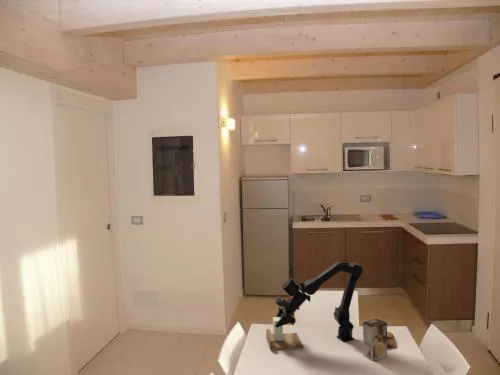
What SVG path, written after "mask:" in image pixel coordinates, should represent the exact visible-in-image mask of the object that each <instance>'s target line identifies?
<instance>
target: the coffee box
mask: <svg viewBox="0 0 500 375" xmlns="http://www.w3.org/2000/svg"><path fill="white" fill-rule="evenodd" d="M387 324H388V323H387V321H383V320H382V319H379V318H374V319H370V320H367V321H363V322H362V337H363V338H362V340H363V341H362V342H363V343H362V345H363V346H362V347H363V348H362V349H363V354H362V355H363V357H365V358H367V359H369V360H371V361H372V362H374V361H378V360H381V359H383V358H386V357H388V348H387V332H388V325H387Z"/></svg>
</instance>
